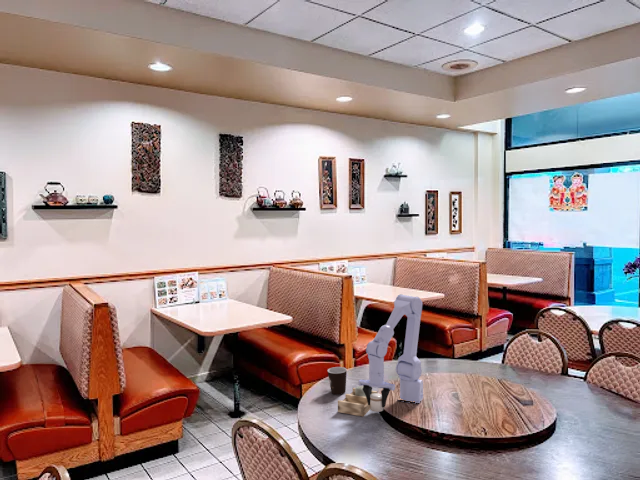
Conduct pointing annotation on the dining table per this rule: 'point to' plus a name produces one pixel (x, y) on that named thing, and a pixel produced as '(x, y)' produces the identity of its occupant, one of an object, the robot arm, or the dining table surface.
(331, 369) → the coffee mug
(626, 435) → the dining table surface
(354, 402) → the rack
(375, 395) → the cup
